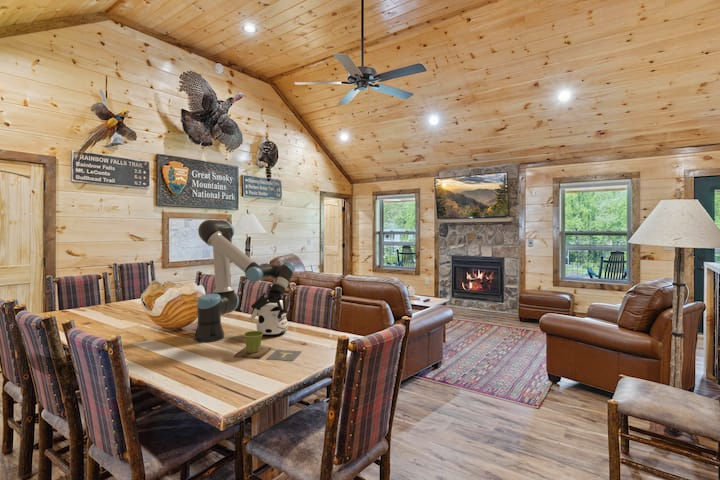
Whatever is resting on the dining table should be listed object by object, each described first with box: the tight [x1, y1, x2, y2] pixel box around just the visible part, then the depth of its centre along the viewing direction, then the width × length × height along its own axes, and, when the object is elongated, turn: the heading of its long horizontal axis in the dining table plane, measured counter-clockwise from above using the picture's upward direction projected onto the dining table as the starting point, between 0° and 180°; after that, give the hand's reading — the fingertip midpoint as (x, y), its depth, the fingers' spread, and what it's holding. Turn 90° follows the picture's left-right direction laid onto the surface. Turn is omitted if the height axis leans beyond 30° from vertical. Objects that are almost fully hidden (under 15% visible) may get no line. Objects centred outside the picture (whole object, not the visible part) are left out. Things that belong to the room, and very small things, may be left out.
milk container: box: [256, 299, 289, 337], centre depth 218 cm, size 17×17×18 cm
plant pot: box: [242, 330, 264, 353], centre depth 184 cm, size 9×9×9 cm
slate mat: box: [266, 349, 303, 362], centre depth 181 cm, size 13×13×1 cm
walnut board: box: [233, 346, 272, 360], centre depth 184 cm, size 13×13×1 cm
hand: (262, 322), depth 190 cm, fingers open, 13 cm apart
